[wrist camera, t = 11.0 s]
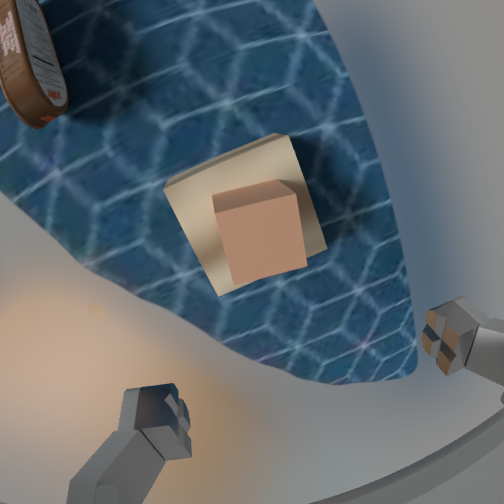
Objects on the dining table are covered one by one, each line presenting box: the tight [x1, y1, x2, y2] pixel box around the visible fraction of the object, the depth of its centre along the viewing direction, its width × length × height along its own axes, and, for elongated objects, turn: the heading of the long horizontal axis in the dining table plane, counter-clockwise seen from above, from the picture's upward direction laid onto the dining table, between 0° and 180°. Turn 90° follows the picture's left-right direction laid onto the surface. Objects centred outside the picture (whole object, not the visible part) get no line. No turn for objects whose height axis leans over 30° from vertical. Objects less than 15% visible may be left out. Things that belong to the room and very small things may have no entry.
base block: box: [163, 133, 327, 296], centre depth 27 cm, size 10×10×5 cm
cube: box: [212, 179, 307, 285], centre depth 22 cm, size 5×5×5 cm
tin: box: [0, 0, 68, 129], centre depth 16 cm, size 15×3×8 cm, turn 20°
